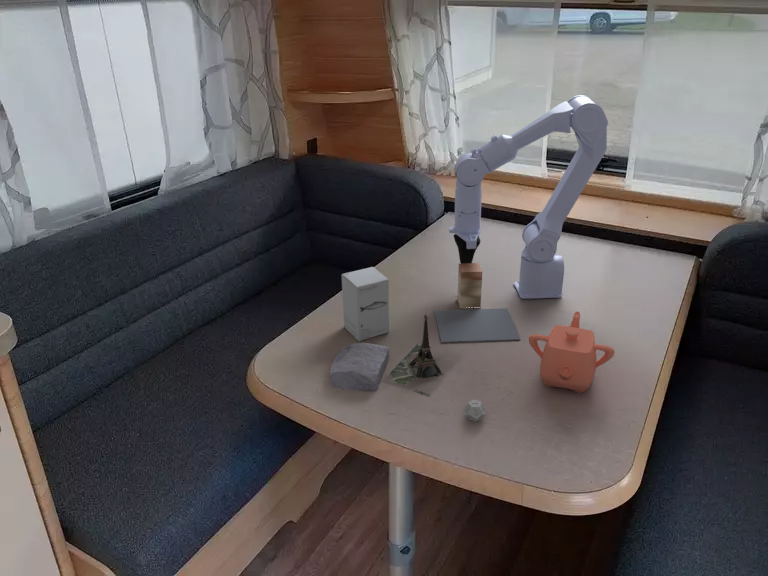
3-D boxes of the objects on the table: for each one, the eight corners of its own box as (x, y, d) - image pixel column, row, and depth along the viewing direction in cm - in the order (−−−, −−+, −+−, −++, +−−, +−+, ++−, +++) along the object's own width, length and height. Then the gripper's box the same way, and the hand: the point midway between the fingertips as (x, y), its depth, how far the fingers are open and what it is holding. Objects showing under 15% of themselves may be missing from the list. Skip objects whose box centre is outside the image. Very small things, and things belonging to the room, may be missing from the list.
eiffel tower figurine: (416, 345, 127) (417, 286, 121) (463, 358, 122) (466, 297, 116) (380, 384, 115) (379, 321, 109) (431, 400, 111) (432, 335, 105)
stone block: (329, 397, 114) (381, 393, 112) (322, 374, 113) (375, 370, 110) (345, 363, 125) (393, 359, 122) (339, 342, 123) (388, 337, 120)
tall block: (477, 298, 143) (478, 262, 139) (480, 308, 139) (482, 271, 135) (457, 299, 143) (458, 263, 139) (460, 308, 139) (461, 272, 135)
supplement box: (358, 342, 127) (355, 287, 122) (343, 326, 133) (340, 272, 127) (390, 333, 130) (389, 278, 125) (374, 318, 136) (372, 265, 130)
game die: (465, 409, 107) (466, 395, 106) (487, 413, 106) (488, 398, 105) (461, 422, 104) (462, 407, 103) (483, 426, 103) (484, 411, 102)
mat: (507, 309, 138) (507, 308, 138) (520, 340, 127) (520, 339, 126) (434, 311, 138) (434, 310, 138) (441, 343, 126) (441, 341, 126)
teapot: (618, 394, 110) (627, 345, 105) (559, 409, 107) (565, 358, 102) (572, 353, 122) (578, 307, 117) (518, 365, 119) (522, 318, 114)
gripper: (446, 199, 144) (444, 253, 150) (453, 221, 131) (452, 280, 137) (476, 198, 144) (474, 252, 150) (487, 220, 131) (484, 279, 137)
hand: (465, 265), depth 144 cm, fingers closed
